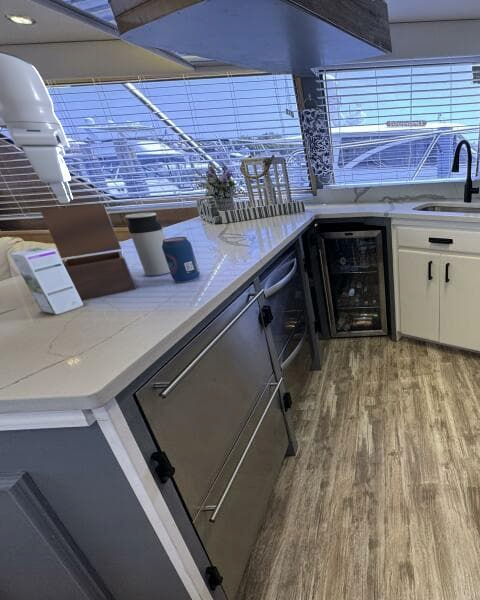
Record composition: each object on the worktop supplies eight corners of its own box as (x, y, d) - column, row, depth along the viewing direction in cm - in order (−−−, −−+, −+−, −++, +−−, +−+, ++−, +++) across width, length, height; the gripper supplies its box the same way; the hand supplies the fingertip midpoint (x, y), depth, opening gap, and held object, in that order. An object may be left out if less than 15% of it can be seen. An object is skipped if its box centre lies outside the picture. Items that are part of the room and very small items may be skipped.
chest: (135, 288, 88) (123, 258, 85) (73, 302, 81) (57, 268, 77) (133, 279, 96) (122, 250, 93) (76, 290, 89) (62, 259, 86)
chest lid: (104, 204, 89) (104, 205, 90) (40, 210, 82) (40, 210, 82) (121, 249, 92) (121, 249, 93) (61, 258, 85) (61, 258, 86)
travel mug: (181, 270, 103) (162, 212, 96) (154, 277, 97) (132, 217, 90) (167, 267, 107) (148, 212, 100) (140, 274, 100) (118, 216, 93)
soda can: (169, 281, 93) (154, 240, 89) (193, 274, 99) (181, 235, 94) (181, 284, 90) (167, 242, 85) (205, 277, 95) (193, 237, 90)
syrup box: (85, 305, 79) (57, 247, 73) (55, 315, 74) (22, 254, 68) (70, 303, 80) (42, 246, 75) (40, 313, 75) (7, 252, 70)
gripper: (28, 141, 79) (54, 200, 84) (10, 134, 64) (42, 206, 70) (63, 142, 82) (86, 198, 88) (54, 135, 68) (81, 203, 73)
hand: (67, 201), depth 79 cm, fingers open, 8 cm apart
